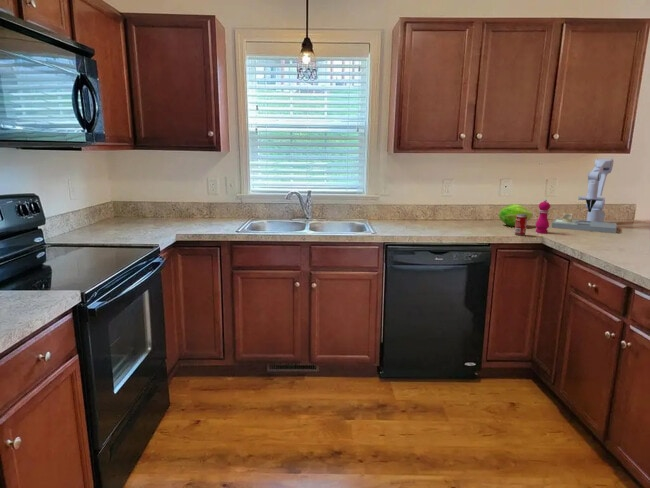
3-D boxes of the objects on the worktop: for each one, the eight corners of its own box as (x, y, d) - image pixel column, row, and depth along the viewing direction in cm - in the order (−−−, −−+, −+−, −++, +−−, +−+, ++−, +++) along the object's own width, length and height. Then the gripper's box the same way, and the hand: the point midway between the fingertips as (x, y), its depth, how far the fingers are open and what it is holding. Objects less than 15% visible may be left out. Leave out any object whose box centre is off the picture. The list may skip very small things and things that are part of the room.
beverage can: (518, 233, 252) (520, 213, 249) (527, 235, 247) (529, 214, 244) (512, 234, 249) (514, 214, 246) (520, 236, 244) (522, 215, 241)
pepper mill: (537, 233, 252) (540, 199, 248) (533, 231, 259) (536, 198, 255) (550, 233, 251) (554, 200, 247) (545, 231, 258) (549, 198, 254)
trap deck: (615, 227, 271) (616, 223, 270) (615, 233, 253) (616, 228, 252) (555, 222, 289) (556, 218, 288) (551, 227, 271) (552, 222, 271)
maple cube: (571, 221, 276) (572, 213, 275) (571, 222, 272) (572, 214, 270) (563, 220, 278) (563, 213, 277) (562, 221, 274) (563, 214, 273)
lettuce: (534, 229, 267) (533, 208, 262) (500, 231, 275) (498, 212, 270) (532, 219, 280) (531, 200, 274) (499, 222, 287) (497, 203, 282)
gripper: (578, 190, 272) (576, 211, 275) (605, 191, 264) (602, 213, 267) (579, 189, 278) (576, 210, 281) (606, 190, 270) (603, 212, 273)
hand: (589, 211), depth 274 cm, fingers closed
